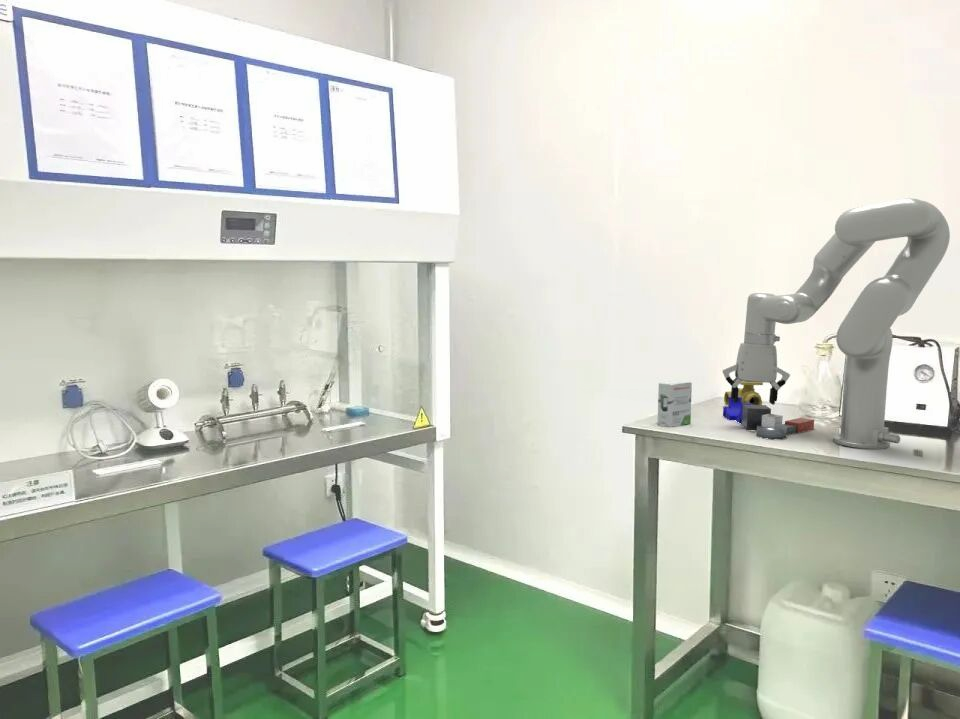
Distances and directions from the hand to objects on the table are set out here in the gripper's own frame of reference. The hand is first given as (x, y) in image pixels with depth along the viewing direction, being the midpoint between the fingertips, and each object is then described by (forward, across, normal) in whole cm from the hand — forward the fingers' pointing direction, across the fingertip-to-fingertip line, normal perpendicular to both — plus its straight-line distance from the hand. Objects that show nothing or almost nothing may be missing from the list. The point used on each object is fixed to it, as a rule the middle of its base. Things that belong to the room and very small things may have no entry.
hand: (753, 402), depth 207 cm
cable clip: (+8, +2, -10) cm, 13 cm away
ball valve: (+8, -4, -32) cm, 33 cm away
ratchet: (+7, -8, +5) cm, 11 cm away
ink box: (+8, +20, -2) cm, 22 cm away
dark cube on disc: (+7, -1, +1) cm, 7 cm away
